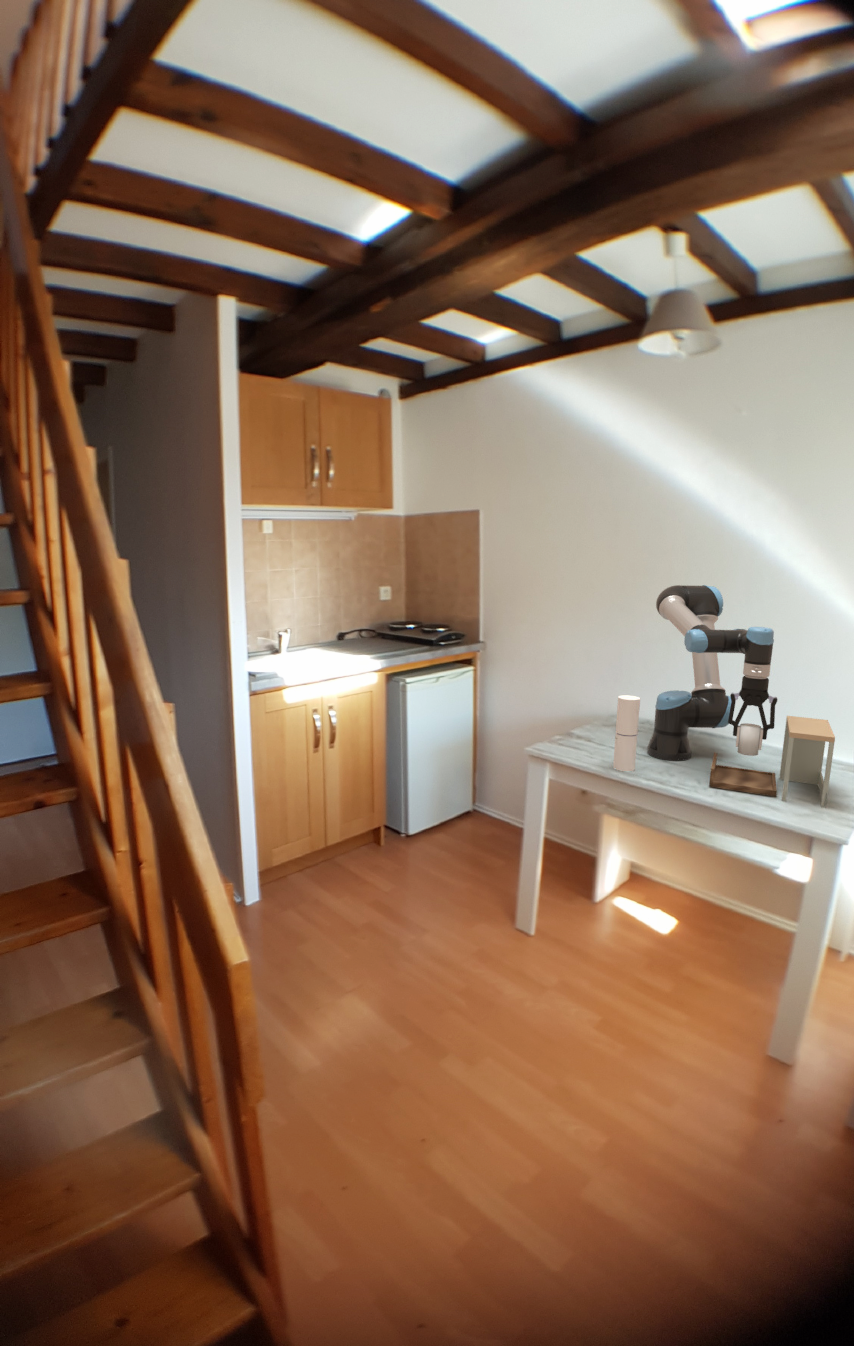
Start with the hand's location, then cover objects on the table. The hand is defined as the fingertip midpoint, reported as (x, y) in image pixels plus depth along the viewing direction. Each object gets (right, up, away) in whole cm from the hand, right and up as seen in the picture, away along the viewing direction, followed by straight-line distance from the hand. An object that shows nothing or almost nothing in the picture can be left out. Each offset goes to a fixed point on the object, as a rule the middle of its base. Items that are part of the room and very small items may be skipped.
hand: (748, 747), depth 216 cm
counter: (+15, -14, -4) cm, 20 cm away
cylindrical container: (-35, -9, +16) cm, 40 cm away
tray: (-1, -12, +3) cm, 12 cm away
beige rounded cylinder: (0, -2, 0) cm, 2 cm away
